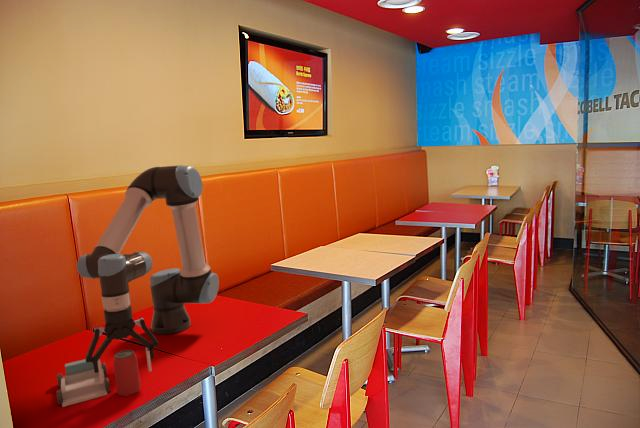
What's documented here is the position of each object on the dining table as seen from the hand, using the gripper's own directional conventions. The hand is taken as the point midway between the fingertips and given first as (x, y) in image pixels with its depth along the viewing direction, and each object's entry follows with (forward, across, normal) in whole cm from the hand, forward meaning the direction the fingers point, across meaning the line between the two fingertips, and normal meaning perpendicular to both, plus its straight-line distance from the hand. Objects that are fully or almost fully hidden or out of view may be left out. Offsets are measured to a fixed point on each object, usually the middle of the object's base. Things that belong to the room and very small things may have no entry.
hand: (126, 375), depth 148 cm
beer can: (+5, 0, 0) cm, 5 cm away
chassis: (+5, -12, +10) cm, 16 cm away
